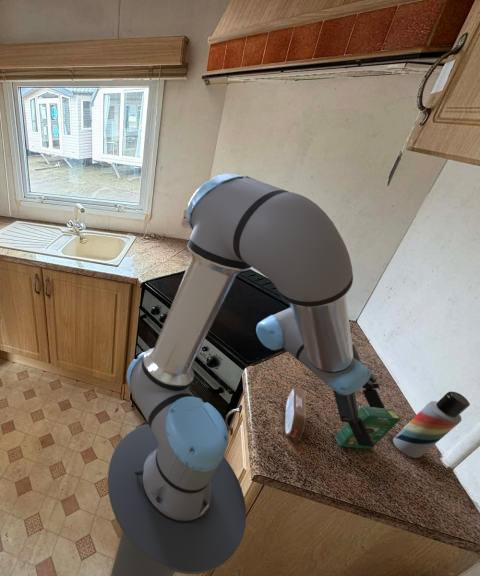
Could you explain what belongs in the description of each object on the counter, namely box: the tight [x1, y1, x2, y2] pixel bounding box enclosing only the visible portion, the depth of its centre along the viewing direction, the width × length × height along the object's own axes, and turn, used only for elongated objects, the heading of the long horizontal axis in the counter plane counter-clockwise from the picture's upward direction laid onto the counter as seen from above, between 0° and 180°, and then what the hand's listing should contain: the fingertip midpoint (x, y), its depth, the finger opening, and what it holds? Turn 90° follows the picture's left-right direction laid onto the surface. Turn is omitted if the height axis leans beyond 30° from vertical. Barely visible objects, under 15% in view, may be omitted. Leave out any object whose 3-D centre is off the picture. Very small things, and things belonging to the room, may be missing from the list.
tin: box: [284, 387, 307, 442], centre depth 81 cm, size 15×3×8 cm, turn 151°
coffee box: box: [334, 405, 402, 450], centre depth 76 cm, size 8×3×13 cm, turn 86°
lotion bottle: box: [392, 391, 471, 459], centre depth 74 cm, size 6×6×20 cm
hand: (374, 429), depth 74 cm, fingers open, 13 cm apart
